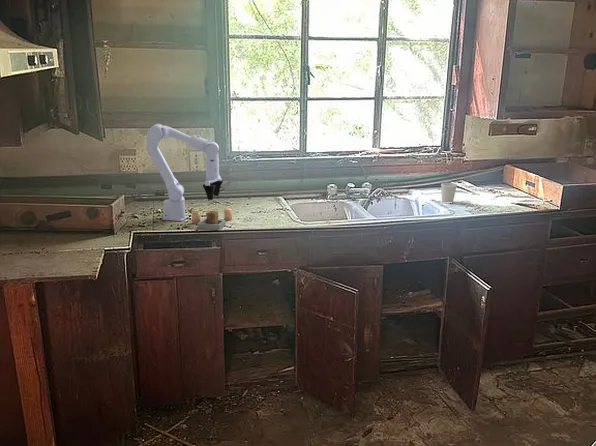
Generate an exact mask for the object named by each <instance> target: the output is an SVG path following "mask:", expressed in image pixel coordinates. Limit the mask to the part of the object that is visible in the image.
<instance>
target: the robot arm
mask: <svg viewBox="0 0 596 446" xmlns="http://www.w3.org/2000/svg"><path fill="white" fill-rule="evenodd" d="M167 138H173V139H176V140H179V141H181V142H184V143H187V144H189V145H188V146H189V147H190V148H192V149H195V150H198V151H199V152H202V153H205V154H206V159H205V163H206V164H205V165H206V166H205V167H206V170H205V172H206V179H205V181H204V184H202V188H203V189H204V192H205V194H206V198H207V200H208V201H213V199H214V197H219V195H220V191H221V188H222V185H223V183H224V182H223V181H224V180H223V179H222V177H221V175H220V166H219V165H220V159H219V155H220V154H219V149H220V147H219V145H218V143H217V142H216V141H213V140H211V139H205V138H203V137H201V135H200V134H198V135H197V134H194V135H192V136H191V135H189V134H187V133H184V132H182V131H180V130H177V129H175V128H173V127H171V126H168V125H165V124H164V125H163V124H162V123H155V124H153V126H152V125H151V126H150V128H149V129H148V131H147V132H146V145H145V147H146V151H147V152H148V154H149V156H150V158H151V159H152V162H153V163H154V166H155V167H156V169H157V171H158V172H159V175H160V176H161V178H162V180H163V182H164V183H165V188H166V191H167V197H168V199H167V198H166V199H165V200H164V201H163V205H162V209H163V211H162V212H163V218H162V219H163V220H166V221H177V222H183V221H184V220H185V219H188V218H189V215H186V201H185V200H186V199H185V197H184V196H183V195H184V193H185V188H184V186H183V185H182V184H181V183H179V181H178V179H176V177H175V175H174V174H173V172H172V170H171V167H170V166H169V164H168V162H167V160H166V159H165V157H164V155H163V153H162V151H161V149H160V148H159V147H160V144H161V140H162V139H167Z"/></svg>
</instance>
